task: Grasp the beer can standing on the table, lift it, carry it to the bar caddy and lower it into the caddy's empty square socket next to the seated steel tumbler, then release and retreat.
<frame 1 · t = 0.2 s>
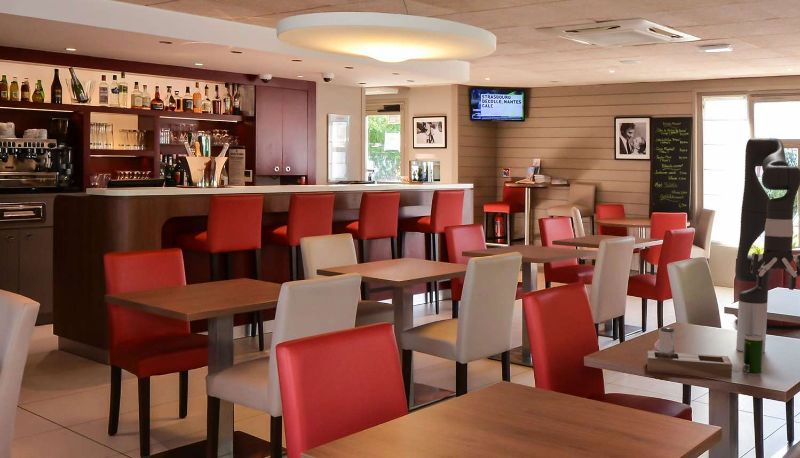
hand: (775, 289, 241), 28 cm above the table, fingers open, 8 cm apart
beer can: (751, 374, 253), on the table
lily: (658, 359, 272), on the table
caddy: (687, 372, 253), on the table
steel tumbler: (665, 368, 255), resting on caddy
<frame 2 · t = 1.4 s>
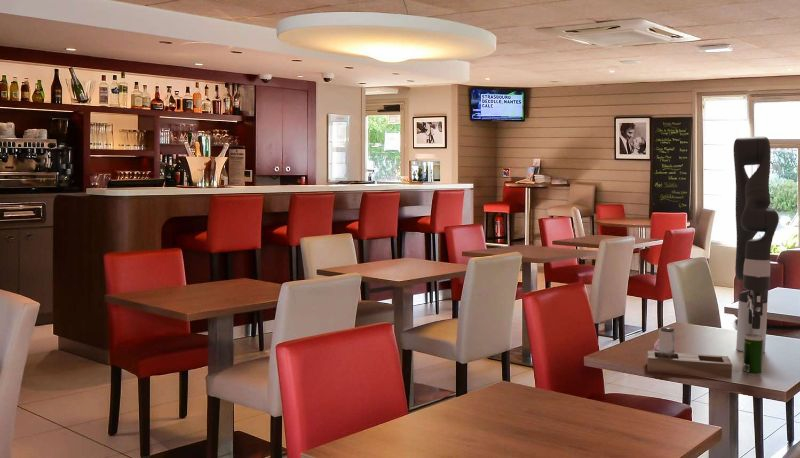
hand: (753, 326, 252), 15 cm above the table, fingers open, 8 cm apart
nothing on the table moved.
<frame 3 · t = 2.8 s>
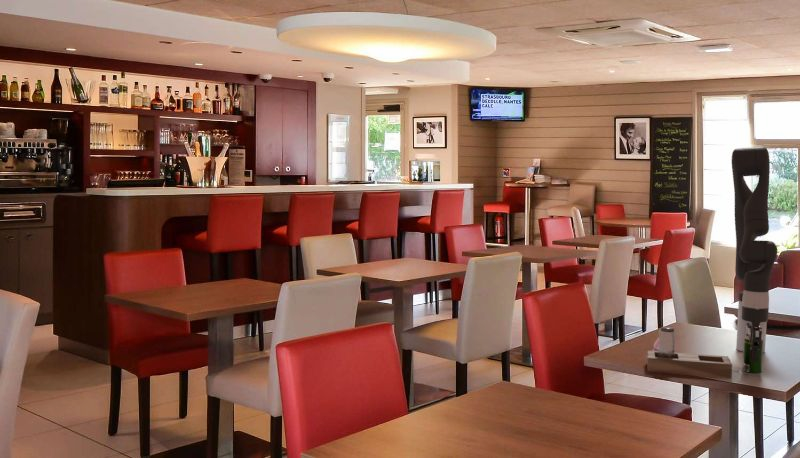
hand: (752, 359, 253), 5 cm above the table, fingers closed on beer can, 5 cm apart
beer can: (751, 374, 253), on the table, touching gripper
everything else where it was.
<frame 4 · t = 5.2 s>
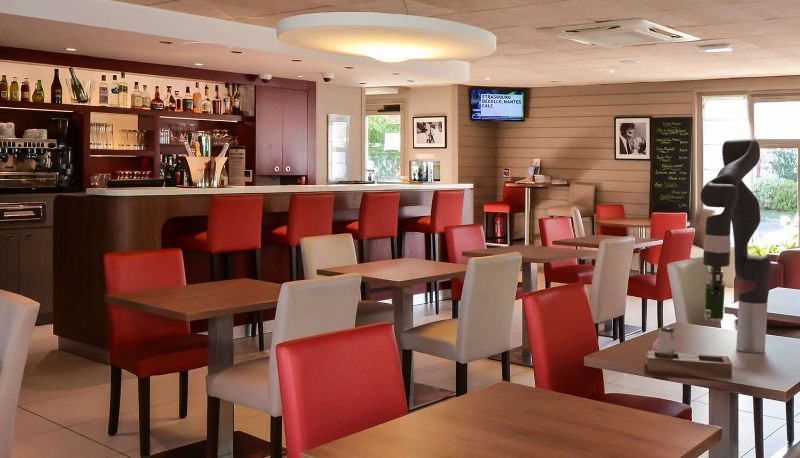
hand: (714, 305, 250), 21 cm above the table, fingers closed on beer can, 5 cm apart
beer can: (713, 320, 250), point 17 cm above the table, touching gripper
everything else where it was.
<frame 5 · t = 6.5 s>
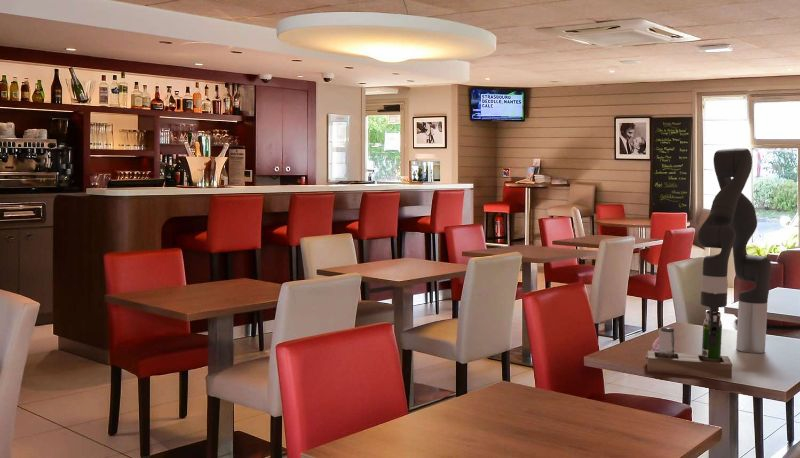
hand: (711, 344, 251), 9 cm above the table, fingers closed on beer can, 5 cm apart
beer can: (710, 359, 251), point 4 cm above the table, touching gripper
everything else where it was.
when the fingers open (6 cm above the table, at t = 7.6 s): beer can stays where it is, resting on caddy.
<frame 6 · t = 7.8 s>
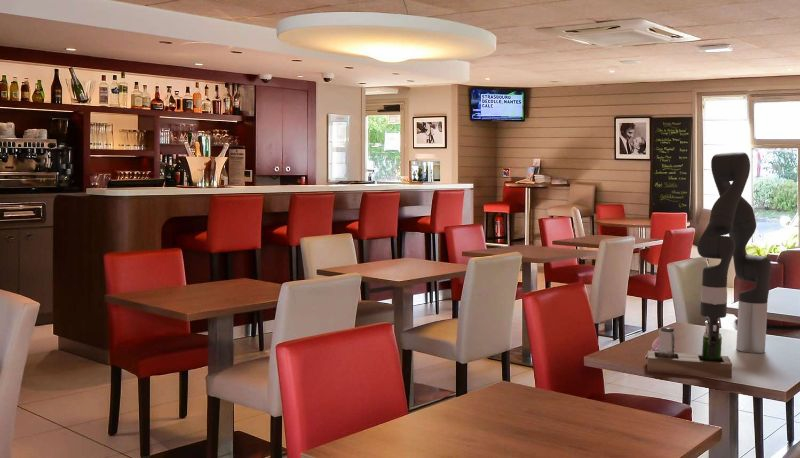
hand: (711, 354, 251), 6 cm above the table, fingers open, 6 cm apart
beer can: (710, 372, 252), resting on caddy
everything else where it was.
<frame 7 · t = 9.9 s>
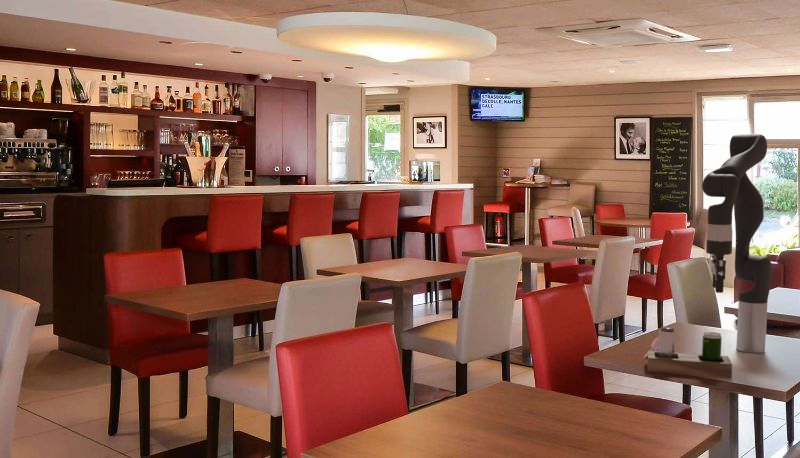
hand: (717, 290, 256), 25 cm above the table, fingers open, 8 cm apart
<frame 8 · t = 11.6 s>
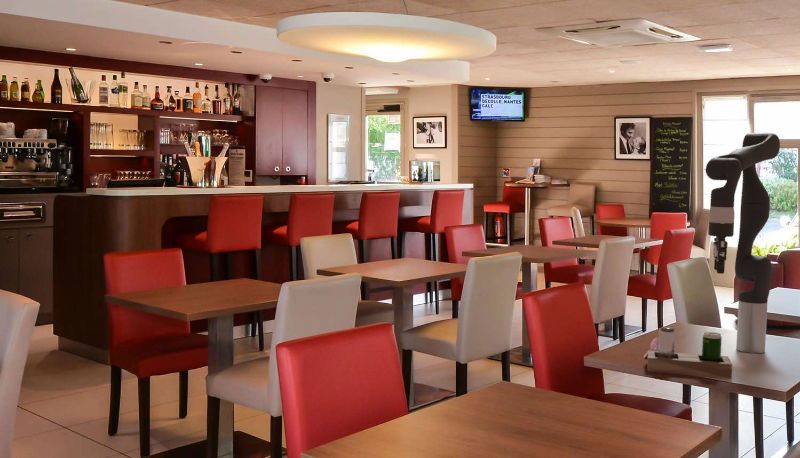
hand: (719, 271, 262), 30 cm above the table, fingers open, 8 cm apart
at the end: beer can 0.2 cm from the target spot on the caddy, point 0.4 cm above the caddy's base; beer can tilted 0°; the gripper is holding nothing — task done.
